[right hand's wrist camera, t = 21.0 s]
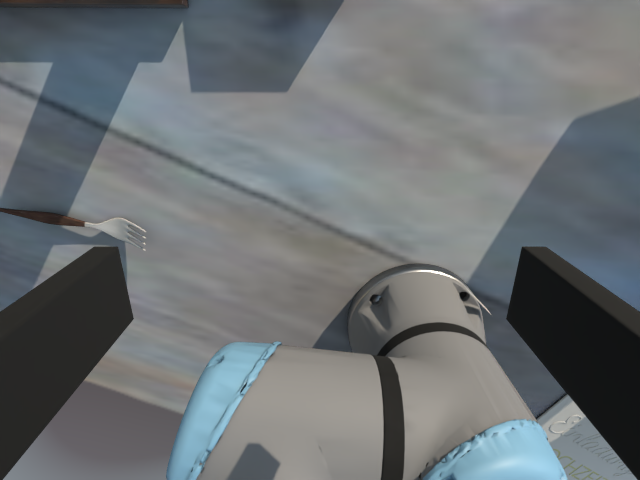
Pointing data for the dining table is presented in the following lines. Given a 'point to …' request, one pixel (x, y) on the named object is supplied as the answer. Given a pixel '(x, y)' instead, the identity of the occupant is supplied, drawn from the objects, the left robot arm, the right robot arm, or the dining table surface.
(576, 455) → the invitation card
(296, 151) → the dining table surface
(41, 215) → the fork
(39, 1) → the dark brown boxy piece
